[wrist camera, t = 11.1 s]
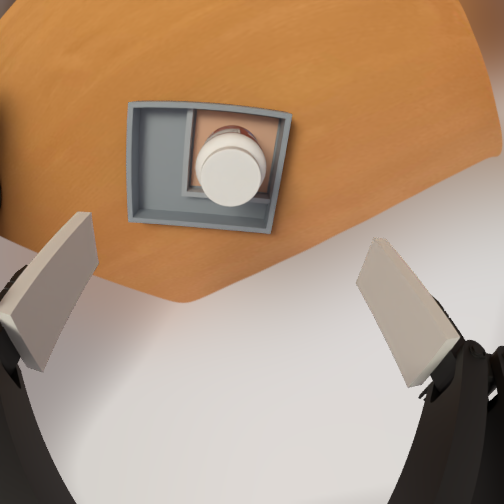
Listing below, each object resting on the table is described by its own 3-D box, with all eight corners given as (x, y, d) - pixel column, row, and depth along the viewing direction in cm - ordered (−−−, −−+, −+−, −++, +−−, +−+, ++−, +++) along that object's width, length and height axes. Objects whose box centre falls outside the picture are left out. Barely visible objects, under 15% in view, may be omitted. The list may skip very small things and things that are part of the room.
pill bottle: (262, 171, 32) (276, 209, 22) (210, 181, 32) (201, 223, 23) (254, 119, 29) (265, 132, 19) (198, 130, 29) (181, 149, 19)
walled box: (136, 210, 34) (128, 221, 31) (138, 100, 27) (128, 102, 24) (267, 220, 36) (270, 233, 33) (286, 112, 29) (292, 114, 26)
